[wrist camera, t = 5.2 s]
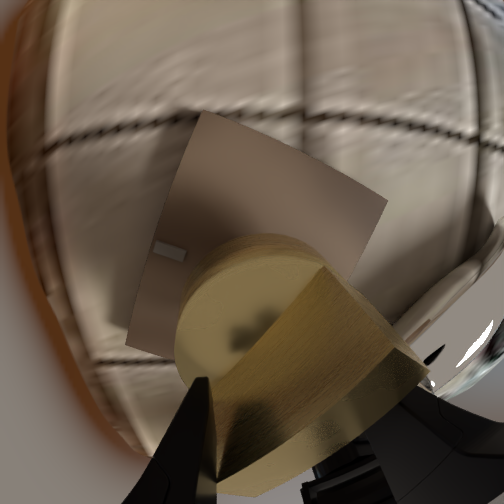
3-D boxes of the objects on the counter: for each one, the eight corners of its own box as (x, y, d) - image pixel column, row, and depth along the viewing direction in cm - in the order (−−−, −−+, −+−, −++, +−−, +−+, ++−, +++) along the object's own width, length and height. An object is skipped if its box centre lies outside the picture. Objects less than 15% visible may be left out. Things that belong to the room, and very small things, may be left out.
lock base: (278, 369, 20) (292, 415, 16) (129, 330, 17) (114, 378, 13) (374, 195, 16) (420, 213, 12) (203, 113, 13) (201, 99, 9)
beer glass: (505, 268, 20) (406, 370, 21) (483, 210, 20) (374, 317, 21) (551, 278, 13) (443, 410, 14) (534, 209, 13) (413, 351, 14)
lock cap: (245, 197, 10) (306, 288, 4) (364, 287, 13) (456, 388, 6) (141, 345, 12) (114, 478, 6) (258, 396, 14) (284, 507, 8)
